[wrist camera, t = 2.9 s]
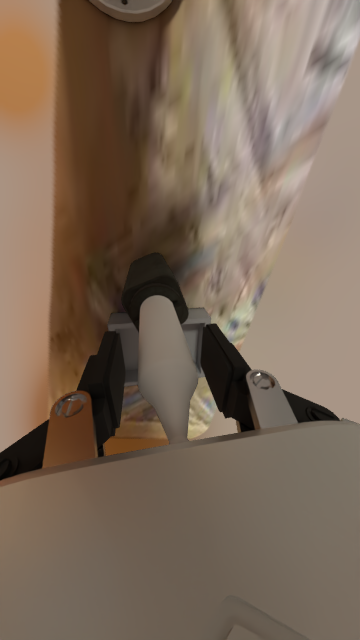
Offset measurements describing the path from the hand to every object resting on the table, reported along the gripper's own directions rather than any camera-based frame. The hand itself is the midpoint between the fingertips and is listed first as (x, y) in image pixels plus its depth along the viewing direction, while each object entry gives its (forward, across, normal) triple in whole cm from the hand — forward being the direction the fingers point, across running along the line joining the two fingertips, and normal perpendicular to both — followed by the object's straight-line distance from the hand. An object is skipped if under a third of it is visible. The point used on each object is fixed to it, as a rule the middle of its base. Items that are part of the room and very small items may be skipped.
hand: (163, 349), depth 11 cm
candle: (+19, 0, 0) cm, 19 cm away
